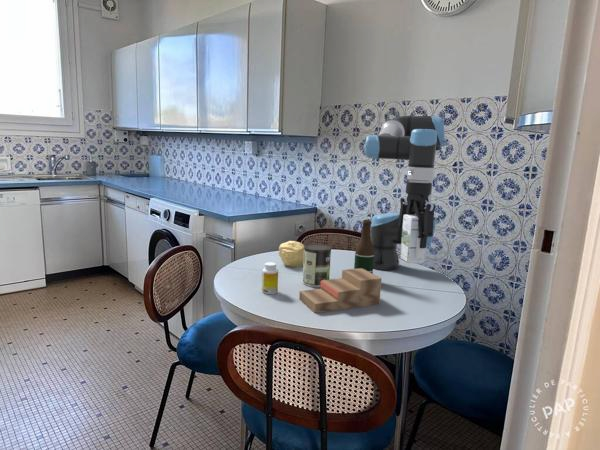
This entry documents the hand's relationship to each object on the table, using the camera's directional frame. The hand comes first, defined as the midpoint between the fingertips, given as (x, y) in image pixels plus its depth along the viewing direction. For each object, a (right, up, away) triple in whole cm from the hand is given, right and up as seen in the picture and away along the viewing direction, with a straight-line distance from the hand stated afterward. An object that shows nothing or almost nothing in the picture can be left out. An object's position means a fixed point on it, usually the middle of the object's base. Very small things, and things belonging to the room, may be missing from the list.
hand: (412, 254), depth 130 cm
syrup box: (0, -2, 0) cm, 2 cm away
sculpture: (-38, -8, +49) cm, 63 cm away
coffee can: (-29, -13, +27) cm, 42 cm away
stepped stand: (-22, -16, +9) cm, 29 cm away
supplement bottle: (-46, -14, +16) cm, 51 cm away
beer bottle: (-11, -13, +32) cm, 36 cm away
